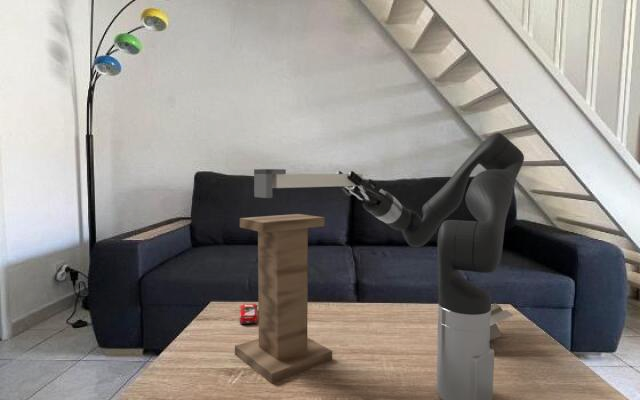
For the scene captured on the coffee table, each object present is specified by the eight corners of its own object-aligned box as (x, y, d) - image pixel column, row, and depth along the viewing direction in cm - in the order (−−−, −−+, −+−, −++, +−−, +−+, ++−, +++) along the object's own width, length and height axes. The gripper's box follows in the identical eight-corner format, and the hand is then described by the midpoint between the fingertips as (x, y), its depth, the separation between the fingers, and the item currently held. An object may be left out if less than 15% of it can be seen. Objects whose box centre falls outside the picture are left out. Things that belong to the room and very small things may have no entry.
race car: (240, 310, 120) (240, 297, 119) (258, 309, 120) (258, 297, 120) (237, 327, 106) (237, 312, 106) (257, 326, 107) (257, 311, 107)
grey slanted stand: (481, 373, 90) (532, 332, 89) (455, 342, 91) (504, 302, 90) (465, 352, 106) (508, 317, 105) (443, 326, 107) (485, 292, 106)
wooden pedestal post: (332, 359, 87) (333, 218, 85) (271, 383, 77) (271, 224, 75) (291, 336, 100) (291, 212, 98) (234, 354, 90) (233, 217, 88)
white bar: (363, 193, 99) (364, 169, 98) (266, 198, 81) (266, 169, 80) (350, 192, 103) (350, 170, 102) (254, 196, 85) (254, 169, 84)
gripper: (368, 192, 114) (330, 162, 104) (407, 194, 103) (369, 160, 93) (359, 215, 112) (319, 186, 102) (398, 219, 101) (357, 188, 91)
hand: (343, 174), depth 97 cm, fingers closed on white bar, 4 cm apart
